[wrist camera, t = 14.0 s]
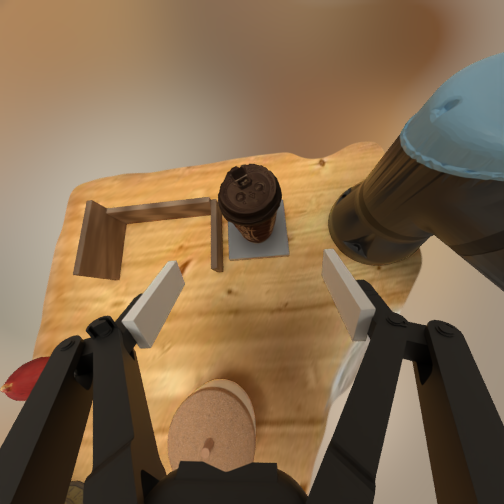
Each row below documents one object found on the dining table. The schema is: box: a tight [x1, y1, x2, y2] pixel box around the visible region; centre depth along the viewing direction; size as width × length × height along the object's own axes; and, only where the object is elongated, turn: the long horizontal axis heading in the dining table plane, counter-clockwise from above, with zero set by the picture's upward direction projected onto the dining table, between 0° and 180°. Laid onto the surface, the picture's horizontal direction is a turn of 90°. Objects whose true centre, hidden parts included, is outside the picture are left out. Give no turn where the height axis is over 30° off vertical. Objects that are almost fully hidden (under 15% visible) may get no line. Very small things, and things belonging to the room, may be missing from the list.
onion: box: [0, 357, 50, 401], centre depth 30 cm, size 6×6×8 cm
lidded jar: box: [168, 379, 256, 472], centre depth 25 cm, size 11×11×9 cm
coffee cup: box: [218, 164, 282, 244], centre depth 29 cm, size 9×8×13 cm
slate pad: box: [228, 200, 289, 261], centre depth 36 cm, size 11×11×1 cm
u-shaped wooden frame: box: [73, 197, 223, 280], centre depth 34 cm, size 22×13×8 cm, turn 94°
